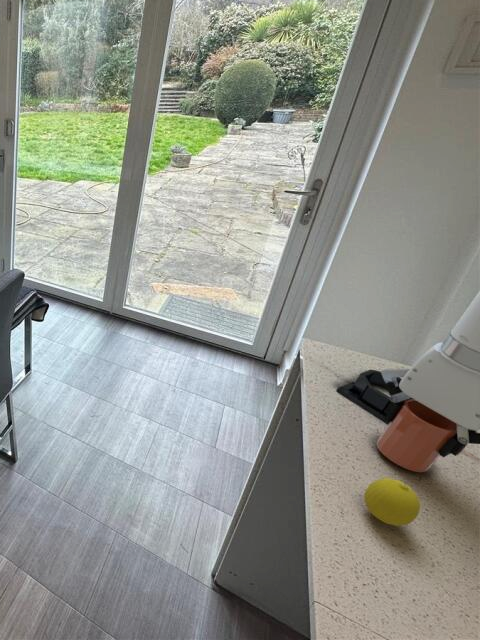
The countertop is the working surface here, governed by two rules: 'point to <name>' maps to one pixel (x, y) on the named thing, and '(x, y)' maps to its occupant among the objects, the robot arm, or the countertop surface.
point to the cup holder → (368, 393)
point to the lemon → (392, 501)
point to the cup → (416, 436)
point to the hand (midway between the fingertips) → (417, 434)
